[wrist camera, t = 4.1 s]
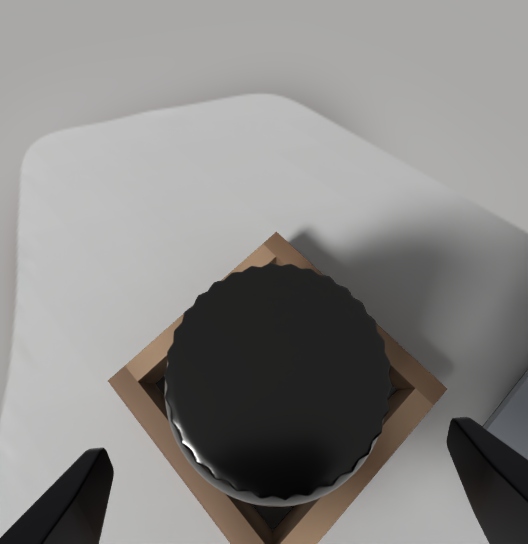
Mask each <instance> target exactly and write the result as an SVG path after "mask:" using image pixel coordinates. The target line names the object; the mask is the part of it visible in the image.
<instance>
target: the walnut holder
mask: <svg viewBox="0 0 528 544" xmlns="http://www.w3.org/2000/svg"><path fill="white" fill-rule="evenodd" d="M269 263H273V264H277V265H280V266H283V265H286V264H293V265H295V266H297V267H299V268H300V269H304V268H311V269H312V270H314V271H315V272H316V273H318V274H319V275H323V274H322V273H321V272H320V271H318V270H317V269H316V268H315V267H314V266H313V265H312V264H311V263H310V262H309V261H308V260H307V259H305V258H304V257H303V256H302V255H301V254H300V253H299V252H298V251H297V250H296V249H295V248H293V247H292V246H291V245H290V244H289V243H288V242H287V241H286V240H285V239H284V238H283V237H281V236H280V235H279V234H278V233H277V232H276V233H275V234H273V235H272V236H271V237H270V238H269V239H268V240H267V241H265V242H264V243H263V244H262V245H261V246H260V247H259V248H258V249H256V250H255V251H254V252H253V253H252V254H251V255H250V256H249V257H247V258H246V259H245V260H244V261H243V262H242V263H241V264H239V265H238V266H237V267H236V268H235V269H234V270H233V271H232V272H230V273H229V274H228V275H227V276H226V277H225V278H224V279H222V280H225V279H226V278H227V277H228V276H229V275H230V274H231V273H233V272H243V271H244V270H245V269H247V268H249V267H250V266H257V267H262V266H264V265H267V264H269ZM222 280H221V281H222ZM193 306H194V305H193ZM183 316H184V314H183V315H182V316H181V317H179V318H178V319H177V320H176V321H175V322H174V323H173V324H172V325H170V326H169V327H168V328H167V329H166V330H165V331H164V332H162V333H161V334H160V335H159V336H158V337H157V338H156V339H155V340H153V341H152V342H151V343H150V344H149V345H148V346H147V347H146V348H144V349H143V350H142V351H141V352H140V353H139V354H138V355H136V356H135V357H134V358H133V359H132V360H131V361H130V362H129V363H127V364H126V365H125V366H124V367H123V368H122V369H121V370H119V371H118V372H117V373H116V374H115V375H114V376H113V377H112V378H110V379H109V380H108V382H109V383H110V385H111V386H112V387H113V388H114V390H115V391H116V392H117V394H118V395H119V396H120V398H121V399H122V400H123V402H124V403H125V404H126V406H127V407H128V408H129V410H130V411H131V412H132V414H133V415H134V416H135V418H136V419H137V420H138V422H139V423H140V424H141V426H142V427H143V428H144V430H145V431H146V432H147V434H148V435H149V436H150V438H151V439H152V440H153V442H154V443H155V444H156V445H157V447H158V448H159V449H160V451H161V452H162V453H163V455H164V456H165V457H166V459H167V460H168V461H169V463H170V464H171V465H172V467H173V468H174V469H175V471H176V472H177V473H178V475H179V476H180V477H181V479H182V480H183V481H184V483H185V484H186V485H187V487H188V488H189V489H190V491H191V492H192V493H193V495H194V496H195V497H196V499H197V500H198V501H199V503H200V504H201V505H202V506H203V508H204V509H205V510H206V512H207V513H208V514H209V516H210V517H211V518H212V520H213V521H214V522H215V524H216V525H217V526H218V528H219V529H220V530H221V532H222V533H223V534H224V536H225V537H226V538H227V540H228V541H229V542H230V544H317V543H318V542H319V541H320V540H321V539H322V537H323V536H324V535H325V534H326V533H327V531H328V530H329V529H330V528H331V527H332V526H333V524H334V523H335V522H336V521H337V520H338V518H339V517H340V516H341V515H342V514H343V512H344V511H345V510H346V509H347V508H348V507H349V505H350V504H351V503H352V502H353V501H354V499H355V498H356V497H357V496H358V495H359V493H360V492H361V491H362V490H363V489H364V488H365V486H366V485H367V484H368V483H369V482H370V480H371V479H372V478H373V477H374V476H375V474H376V473H377V472H378V471H379V470H380V469H381V467H382V466H383V465H384V464H385V463H386V461H387V460H388V459H389V458H390V457H391V456H392V454H393V453H394V452H395V451H396V450H397V448H398V447H399V446H400V445H401V444H402V442H403V441H404V440H405V439H406V438H407V437H408V435H409V434H410V433H411V432H412V431H413V429H414V428H415V427H416V426H417V425H418V423H419V422H420V421H421V420H422V419H423V418H424V416H425V415H426V414H427V413H428V412H429V410H430V409H431V408H432V407H433V406H434V404H435V403H436V402H437V401H438V400H439V399H440V397H441V396H442V395H443V394H444V393H445V391H446V390H447V388H446V387H445V386H444V385H443V384H442V383H440V382H439V381H438V380H437V379H436V378H435V377H434V376H433V375H432V374H431V373H430V372H428V371H427V370H426V369H425V368H424V367H423V366H422V365H421V364H420V363H419V362H418V361H416V360H415V359H414V358H413V357H412V356H411V355H410V354H409V353H408V352H407V351H406V350H405V349H403V348H402V347H401V346H400V345H399V344H398V343H397V342H396V341H395V340H394V339H393V338H391V337H390V336H389V335H388V334H387V333H386V332H385V331H384V330H383V329H382V328H381V327H379V326H378V325H377V324H376V326H377V332H378V333H379V334H380V335H381V336H382V338H383V339H384V340H385V354H386V356H387V357H388V359H389V361H390V363H391V364H390V370H389V374H388V375H389V378H390V380H391V384H392V385H393V386H394V387H395V388H396V389H397V391H396V392H395V393H394V394H393V396H392V397H391V398H390V399H389V400H388V403H389V411H388V413H387V415H386V416H385V417H384V421H383V424H382V433H381V434H380V435H379V436H378V439H377V441H376V443H375V445H374V447H373V449H372V451H371V453H370V454H369V456H368V457H367V459H366V460H365V462H364V463H363V464H362V465H361V467H360V468H359V469H358V470H357V471H356V472H355V473H354V474H353V475H352V476H351V477H350V478H349V479H348V480H347V481H346V482H345V483H343V484H342V485H341V486H340V487H338V488H337V489H335V490H333V491H332V492H330V493H329V494H327V495H325V496H322V497H320V498H318V499H316V500H313V501H310V502H307V503H303V504H299V505H295V506H294V508H293V509H292V510H291V511H290V512H289V513H288V514H287V516H286V517H285V518H284V519H283V520H282V521H281V522H280V523H279V525H278V526H277V527H276V528H275V529H274V530H273V531H272V530H271V528H270V527H269V526H268V525H267V523H266V522H265V521H264V520H263V518H262V517H261V516H260V515H259V513H258V512H257V511H256V510H255V508H254V507H253V506H252V505H251V503H247V502H244V501H241V500H238V499H235V498H233V497H231V496H229V495H227V494H225V493H223V492H222V491H220V490H219V489H217V488H215V487H214V486H213V485H211V484H210V483H209V482H208V481H206V480H205V479H204V478H203V477H202V476H201V475H200V474H199V473H198V472H197V471H196V470H195V469H194V468H193V466H192V465H191V464H190V463H189V462H188V460H187V459H186V457H185V456H184V454H183V453H182V451H181V449H180V447H179V445H178V444H177V442H176V440H175V437H174V435H173V432H172V430H171V426H170V423H169V420H168V415H167V410H166V404H165V396H164V394H163V393H162V392H161V391H160V389H159V388H158V387H157V386H156V384H155V383H156V382H158V381H159V380H160V379H161V378H162V377H163V376H164V373H165V370H166V368H167V362H168V358H167V351H168V350H169V348H170V346H171V345H172V344H173V336H174V331H175V329H176V328H177V327H178V326H179V325H180V324H181V323H182V320H183Z"/></svg>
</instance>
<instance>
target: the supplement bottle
mask: <svg viewBox="0 0 528 544" xmlns="http://www.w3.org/2000/svg"><path fill="white" fill-rule="evenodd" d="M167 358H168V362H167V368H166V370H165V373H164V377H165V404H166V410H167V415H168V420H169V423H170V426H171V430H172V432H173V435H174V437H175V440H176V442H177V444H178V445H179V447H180V449H181V451H182V453H183V454H184V456H185V457H186V459H187V460H188V462H189V463H190V464H191V465H192V466H193V468H194V469H195V470H196V471H197V472H198V473H199V474H200V475H201V476H202V477H203V478H204V479H205V480H206V481H208V482H209V483H210V484H211V485H213V486H214V487H215V488H217V489H219V490H220V491H222V492H223V493H225V494H227V495H229V496H231V497H233V498H235V499H238V500H241V501H244V502H247V503H251V504H255V505H260V506H269V507H285V506H294V505H299V504H303V503H307V502H310V501H313V500H316V499H318V498H320V497H322V496H325V495H327V494H329V493H330V492H332V491H333V490H335V489H337V488H338V487H340V486H341V485H342V484H343V483H345V482H346V481H347V480H348V479H349V478H350V477H351V476H352V475H353V474H354V473H355V472H356V471H357V470H358V469H359V468H360V467H361V465H362V464H363V463H364V462H365V460H366V459H367V457H368V456H369V454H370V453H371V451H372V449H373V447H374V445H375V443H376V441H377V439H378V436H379V435H380V434H381V433H382V424H383V421H384V417H385V416H386V415H387V413H388V411H389V403H388V395H389V393H390V391H391V388H392V384H391V380H390V378H389V375H388V374H389V370H390V364H391V363H390V361H389V359H388V357H387V356H386V354H385V340H384V339H383V338H382V336H381V335H380V334H379V333H378V332H377V326H376V322H375V320H374V319H373V318H372V317H371V316H369V315H368V314H367V313H366V310H365V307H364V305H363V303H362V302H360V301H359V300H357V299H355V298H353V297H352V295H351V293H350V292H349V290H348V289H347V288H346V287H343V286H339V285H337V284H336V283H335V282H334V281H333V279H331V278H330V277H329V276H325V275H319V274H318V273H316V272H315V271H314V270H312V269H311V268H304V269H300V268H299V267H297V266H295V265H293V264H286V265H283V266H280V265H277V264H273V263H269V264H267V265H264V266H262V267H257V266H250V267H249V268H247V269H245V270H244V271H243V272H233V273H231V274H230V275H229V276H228V277H227V278H226V279H225V280H222V281H217V282H214V283H213V285H212V286H211V287H210V289H209V290H208V291H207V292H205V293H202V294H201V295H199V296H198V297H197V299H196V301H195V303H194V306H192V307H191V308H189V309H188V310H187V311H185V312H184V316H183V320H182V323H181V324H180V325H179V326H178V327H177V328H176V329H175V331H174V336H173V344H172V345H171V346H170V348H169V350H168V351H167Z"/></svg>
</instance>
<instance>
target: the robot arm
mask: <svg viewBox="0 0 528 544" xmlns="http://www.w3.org/2000/svg"><path fill="white" fill-rule="evenodd" d="M447 446H448V450H449V452H450V455H451V457H452V460H453V462H454V465H455V467H456V470H457V472H458V475H459V477H460V480H461V482H462V485H463V487H464V490H465V492H466V495H467V497H468V500H469V502H470V505H471V507H472V509H473V512H474V514H475V516H476V518H477V520H478V522H479V524H480V526H481V528H482V530H483V532H484V534H485V536H486V538H487V540H488V542H489V544H528V459H526V458H525V457H523V456H522V455H521V454H519V453H518V452H516V451H515V450H514V449H512V448H511V447H510V446H508V445H507V444H505V443H504V442H503V441H501V440H500V439H499V438H497V437H496V436H494V435H493V434H492V433H490V432H489V431H487V430H486V429H485V428H483V427H482V426H481V425H479V424H478V423H476V422H475V421H474V420H472V419H471V418H468V417H460V418H453V419H452V420H451V422H450V426H449V431H448V436H447ZM113 475H114V470H113V466H112V464H111V461H110V459H109V456H108V454H107V451H106V450H105V449H104V448H93V449H88V450H87V451H85V452H84V453H83V454H82V455H81V456H80V457H79V458H78V459H77V460H76V461H75V462H74V463H73V464H72V466H71V467H70V468H69V469H68V470H67V471H66V472H65V473H64V474H63V475H62V476H61V477H60V478H59V479H58V480H57V481H56V482H55V483H54V484H53V485H52V486H51V487H50V488H49V489H48V490H47V491H46V492H45V493H44V494H43V495H42V496H41V497H40V498H39V499H38V500H37V501H36V502H35V503H34V504H33V505H32V506H31V507H30V508H29V509H28V510H27V511H26V512H25V513H24V514H23V515H22V516H21V517H20V518H19V519H18V520H17V521H16V522H15V523H14V524H13V525H12V526H11V528H10V529H9V530H8V531H7V532H6V533H5V534H4V535H3V536H2V537H1V538H0V544H99V540H100V536H101V532H102V527H103V523H104V518H105V513H106V509H107V504H108V500H109V495H110V490H111V486H112V481H113Z"/></svg>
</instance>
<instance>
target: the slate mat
mask: <svg viewBox="0 0 528 544" xmlns="http://www.w3.org/2000/svg"><path fill="white" fill-rule="evenodd" d="M483 428H485V429H486V430H487V431H489V432H490V433H492V434H493V435H494V436H496V437H497V438H499V439H500V440H501V441H503V442H504V443H505V444H507V445H508V446H510V447H511V448H512V449H514V450H515V451H516V452H518V453H519V454H521V455H522V456H523V457H525V458H526V459H528V370H527V371H526V373H525V374H524V375H523V376H522V378H521V379H520V380H519V382H518V383H517V384H516V385H515V387H514V388H513V389H512V390H511V392H510V393H509V394H508V395H507V397H506V398H505V399H504V401H503V402H502V403H501V404H500V406H499V407H498V408H497V409H496V411H495V412H494V413H493V414H492V416H491V417H490V418H489V420H488V421H487V422H486V423H485V425H484V426H483Z"/></svg>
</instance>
